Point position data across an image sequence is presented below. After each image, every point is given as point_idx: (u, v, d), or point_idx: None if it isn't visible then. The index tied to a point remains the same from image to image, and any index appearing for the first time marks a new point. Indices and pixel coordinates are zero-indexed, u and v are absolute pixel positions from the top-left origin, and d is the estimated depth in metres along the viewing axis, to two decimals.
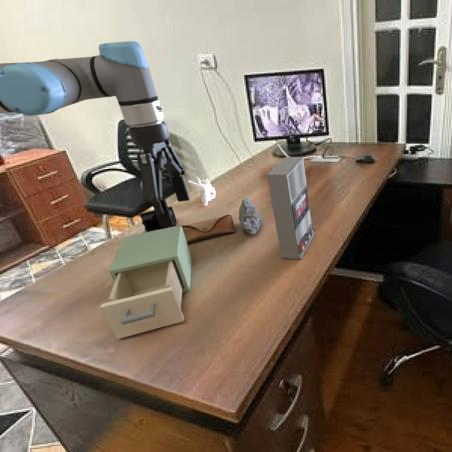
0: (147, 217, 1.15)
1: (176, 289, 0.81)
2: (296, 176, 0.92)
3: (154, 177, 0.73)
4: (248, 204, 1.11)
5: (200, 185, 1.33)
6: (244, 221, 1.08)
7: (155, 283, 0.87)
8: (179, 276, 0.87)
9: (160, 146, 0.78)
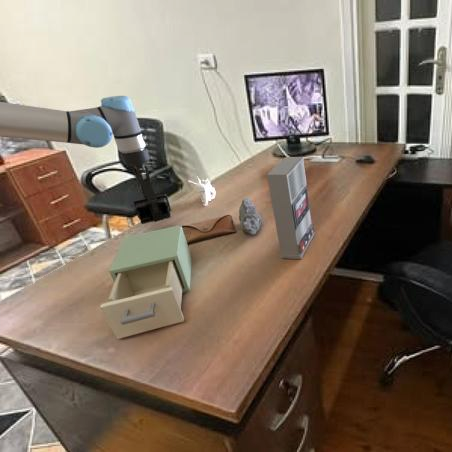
0: (141, 204, 1.12)
1: (176, 289, 0.81)
2: (296, 176, 0.92)
3: None
4: (248, 204, 1.11)
5: (200, 185, 1.33)
6: (244, 221, 1.08)
7: (155, 283, 0.87)
8: (179, 276, 0.87)
9: None
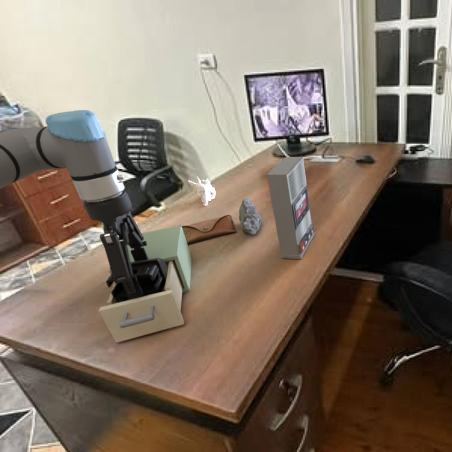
0: None
1: (176, 292, 0.80)
2: (296, 176, 0.92)
3: (123, 256, 0.66)
4: (248, 204, 1.11)
5: (200, 185, 1.33)
6: (244, 221, 1.08)
7: None
8: (179, 278, 0.86)
9: (121, 217, 0.70)
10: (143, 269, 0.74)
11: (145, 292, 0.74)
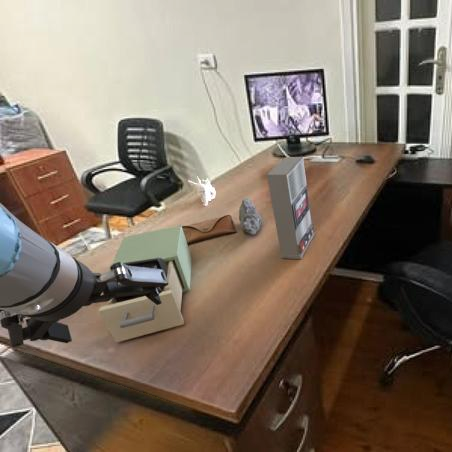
0: None
1: (176, 292, 0.80)
2: (296, 176, 0.92)
3: (16, 334, 0.44)
4: (248, 204, 1.11)
5: (200, 185, 1.33)
6: (244, 221, 1.08)
7: None
8: (179, 278, 0.86)
9: None
10: None
11: None
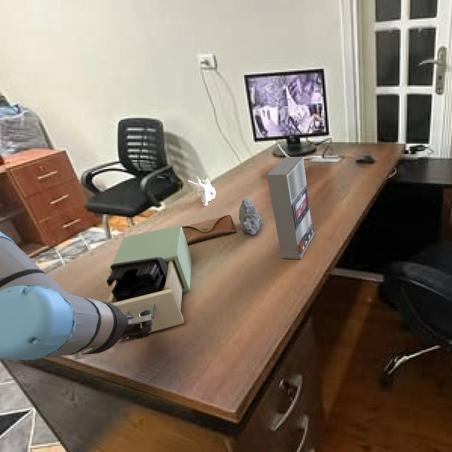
0: (116, 274, 0.73)
1: (176, 291, 0.80)
2: (296, 176, 0.92)
3: None
4: (248, 204, 1.11)
5: (200, 185, 1.33)
6: (244, 221, 1.08)
7: None
8: (179, 278, 0.87)
9: None
10: (143, 268, 0.74)
11: (145, 291, 0.74)
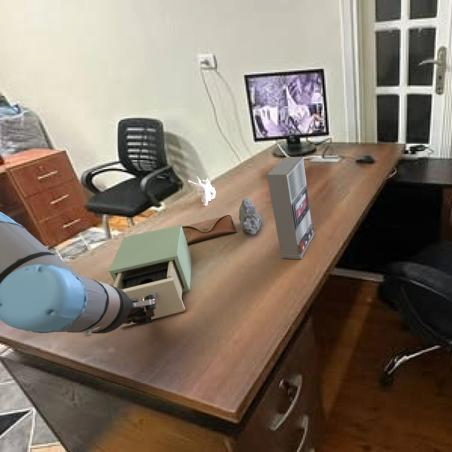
0: (132, 286, 0.78)
1: (177, 280, 0.84)
2: (296, 176, 0.92)
3: None
4: (248, 204, 1.11)
5: (200, 185, 1.33)
6: (244, 221, 1.08)
7: None
8: None
9: None
10: (157, 278, 0.80)
11: None
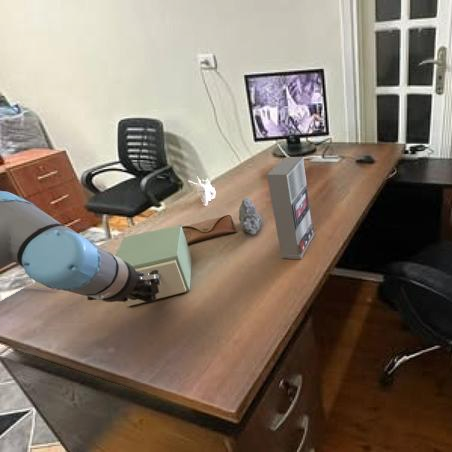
0: None
1: None
2: (296, 176, 0.92)
3: None
4: (248, 204, 1.11)
5: (200, 185, 1.33)
6: (244, 221, 1.08)
7: None
8: None
9: None
10: None
11: None
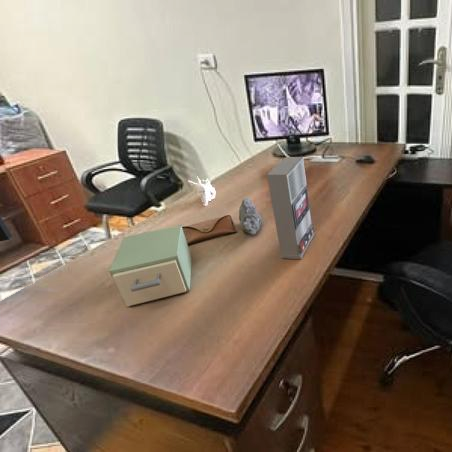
0: None
1: None
2: (296, 176, 0.92)
3: None
4: (248, 204, 1.11)
5: (200, 185, 1.33)
6: (244, 221, 1.08)
7: None
8: None
9: None
10: None
11: None
